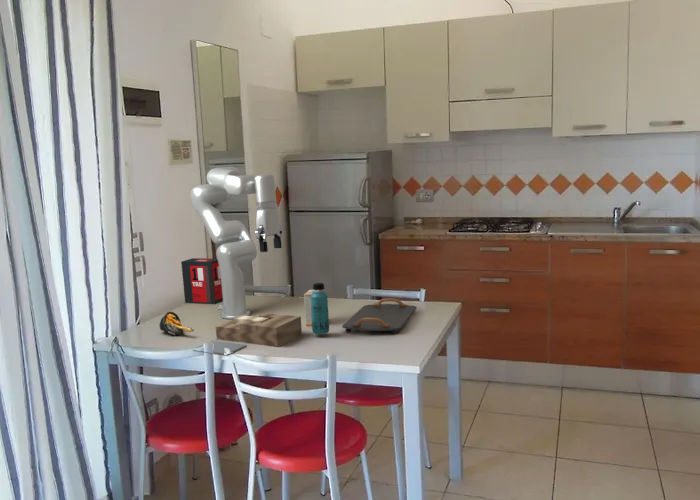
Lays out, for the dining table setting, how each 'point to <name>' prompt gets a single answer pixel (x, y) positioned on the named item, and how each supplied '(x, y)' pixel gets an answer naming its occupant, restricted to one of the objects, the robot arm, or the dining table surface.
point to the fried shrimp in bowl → (172, 324)
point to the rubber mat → (221, 345)
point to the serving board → (380, 317)
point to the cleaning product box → (202, 281)
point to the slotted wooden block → (262, 330)
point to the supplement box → (308, 306)
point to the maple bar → (249, 319)
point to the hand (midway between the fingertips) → (271, 250)
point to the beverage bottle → (319, 310)
